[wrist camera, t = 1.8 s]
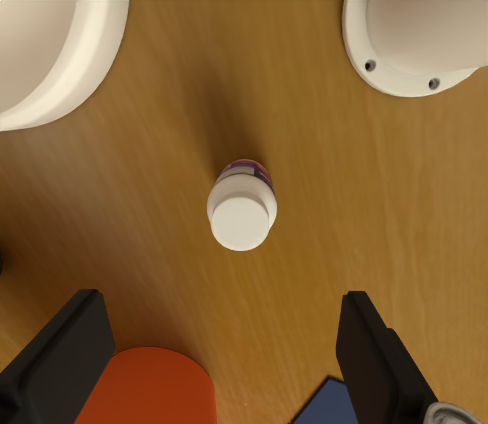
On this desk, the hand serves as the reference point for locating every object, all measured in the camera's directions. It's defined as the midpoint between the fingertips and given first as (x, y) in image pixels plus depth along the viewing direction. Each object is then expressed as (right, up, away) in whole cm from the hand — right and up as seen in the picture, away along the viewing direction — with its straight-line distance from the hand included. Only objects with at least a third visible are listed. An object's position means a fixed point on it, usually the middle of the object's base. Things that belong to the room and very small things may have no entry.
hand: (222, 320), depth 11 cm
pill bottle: (+1, +7, +17) cm, 18 cm away
